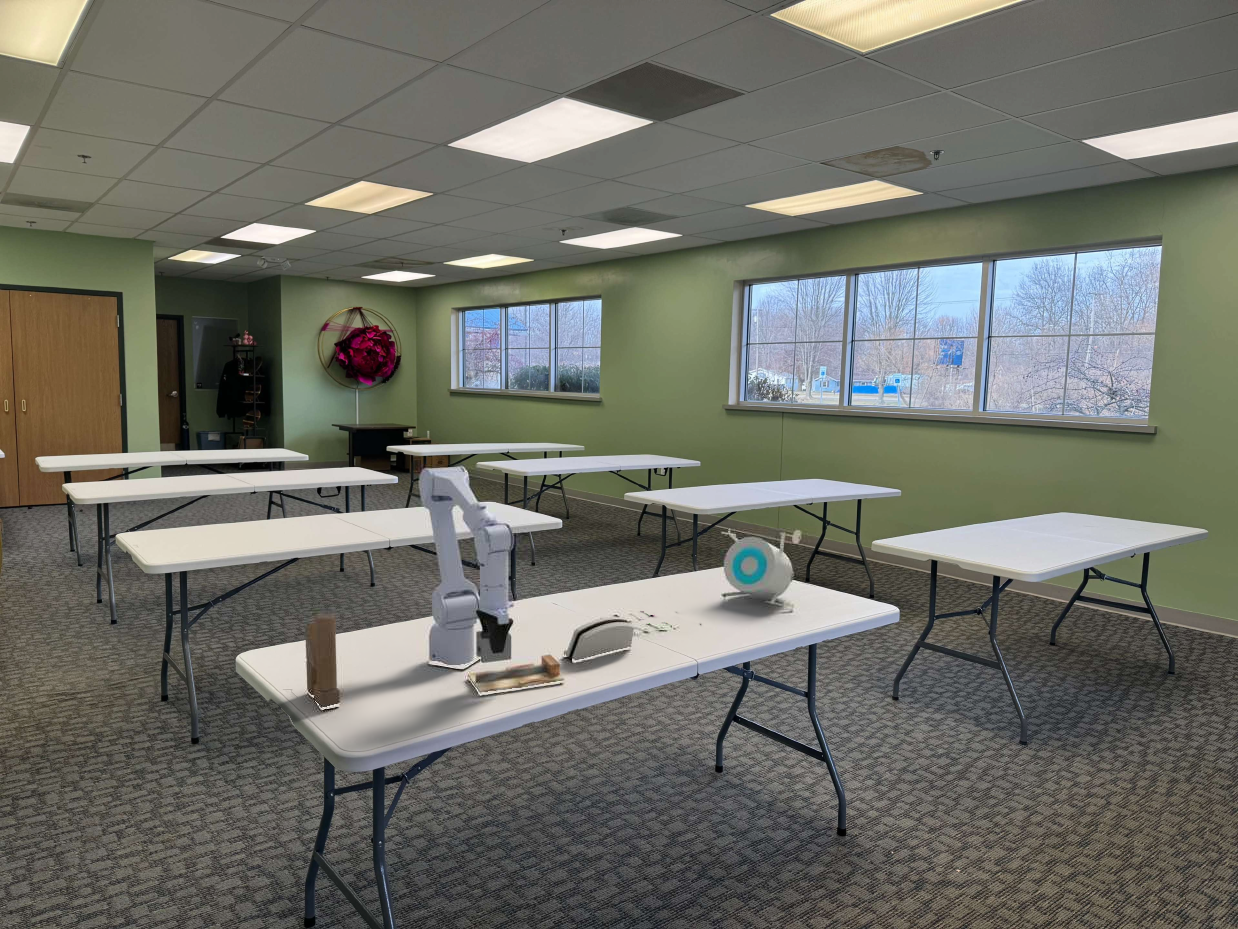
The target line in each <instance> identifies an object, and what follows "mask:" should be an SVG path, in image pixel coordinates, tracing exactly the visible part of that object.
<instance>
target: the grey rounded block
mask: <svg viewBox="0 0 1238 929" xmlns="http://www.w3.org/2000/svg"><path fill="white" fill-rule="evenodd" d="M620 617H621V616H620ZM620 617H617V616H610V617H604V618H602V617H600V618H597V619H594V620H592V621H591V620H590V621H589V622H587V623H585V624H581V626H578V627H577V628H576V629H575V630H574V632H573V635H572V637H571V639H570V643H569V645H568V648H567V649H565V650H564V651H563V654H564V655H565V654H566V656H567V657H570V658H569V659H571V658H572V659H574V660H579V659H584V658H587V657H591V656H595V655H598V654H602V653H606V652H610V651H614V650H618V649H623V648H627V647H631V648H632V642H633V636H634V635H633V633H634V632H635V631H634V630H635V629H634V628H635V627H634V625H633V624H632V623H631V622H628V621H627V620H626V618H625V617H623V618H620ZM624 618H625V619H624ZM563 654H562V655H563ZM567 657H566V658H567Z"/></svg>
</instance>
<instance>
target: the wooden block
mask: <svg viewBox="0 0 1238 929" xmlns="http://www.w3.org/2000/svg"><path fill="white" fill-rule="evenodd" d="M304 628H305V631H304V632H305V658H306V662H305V663H306V691H307V690H308V692H309V693H310V694H311V695H314V699H315V701H316V702H317V703H318V704H319V706H320V707H321V708H322V707H327V706H330V705H334V704H338V703H340V702H341V699H340V698H341V696H340V695H341V694H340V689H339V688H338V680H337V679H338V678H337V677H338V676H337V670H338V669H337V645H336V644H337V643H336V642H337V640H336V639H337V636H336V616H335V615H334V614H332V613H322V614H321V613H320V614H318V615H317V616H315V618H314V623H311V624H305V626H304ZM314 699H313V700H314ZM340 704H341V703H340Z"/></svg>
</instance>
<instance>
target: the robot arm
mask: <svg viewBox="0 0 1238 929" xmlns="http://www.w3.org/2000/svg"><path fill="white" fill-rule="evenodd" d="M469 476H470V475H469V473H468V471H467V469H466V468H465V467H464V466H463V465H458V466H453V467H450V466H449V467H437V468H436V467H434V468H433V467H431V468H429V467H425V468H422V470H421V472H420V474H419V478H418V479H419V480H418V490H419V494H420V495H419V496H420V501H421V503H422V507H423V508H425V509H426V510H428V511H429V517H430V523H431V528H432V533H433V535H432V536H433V539H434V545H435V549H436V550H435V551H436V556H437V561H438V567H439V573H440V579H441V582H440V584H439V585H438V586H437V587H436V588H435V589H434V591H433V592H432V594H431V602H432V603H431V604H432V606H431V614H432V618H433V620H434V624H432V626H431V628H430V630H429V633H428V634H429V635H428V650H429V651H428V655H429V657H428V660H431V661H438V662H442V663H444V664H447V665H461V664H466V663H469V662H471V661H473V659H474V656H475V632H474V631H475V630H474V629H475V627H474V626H475V625H476V624H477V623H478V622H477V620H479V622H480V625H481V631H486V630H488V632H489V636H490V643H491V649H492V652H493V654H495V653H503V651H504V647H505V643H506V638H507V635H508V633H510V630H511V628H512V626H513V625H514V619H513V618H511V617H510V616H509V615H510V614H509V610H510V609H511V608H514V607H515V603H514V602H513V601H509V552H511V551H512V550H513V548H514V544H515V535H514V531H513V529H512V527H511V525H510V524H509V523H507V522H506V523H505V522H503V521H498V519H497V518H496V516H495V515H494V514H493V512H492V511H491V509H490V508H489V507H488V505H487V504H486V503H484V502H481V501H480V502H479V501H478V500H477V498H476V497H475V495H474V493H473V491H472V489H471V487H470V477H469ZM456 506H458V507H459V508H460V510H461V511H462V512H463V513H462V519H463V522H464V523H465V525H466V527H467V528H468V530H469V531H470V532H471V533H472V535H473V537H474V540H473V541H474V547H475V550H476V558H477V562H479V593H478V589H477V585H475V583H474V582H473V583H472V582H471V581H470V580H468V579H466V578H465V574H464V569H463V564H462V559H461V558H462V557H461V552H460V549H459V543H458V542H459V541H458V537H457V532H456V526H455V520H454V515H453V510H454V508H455V507H456Z"/></svg>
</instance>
